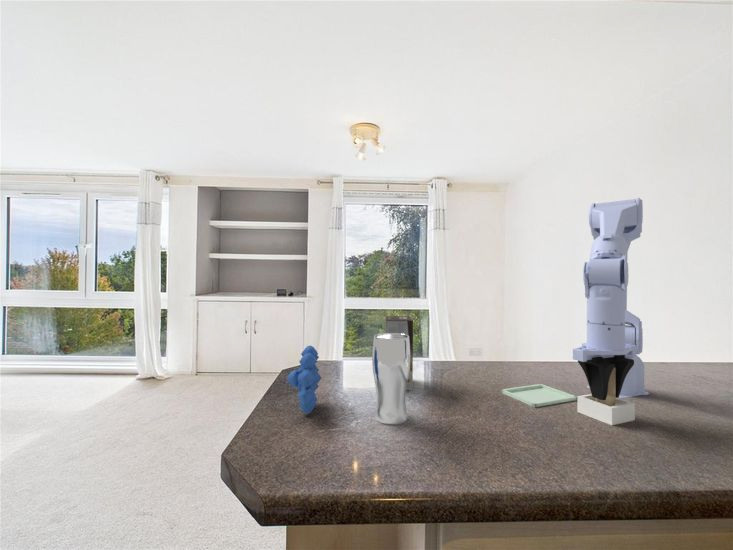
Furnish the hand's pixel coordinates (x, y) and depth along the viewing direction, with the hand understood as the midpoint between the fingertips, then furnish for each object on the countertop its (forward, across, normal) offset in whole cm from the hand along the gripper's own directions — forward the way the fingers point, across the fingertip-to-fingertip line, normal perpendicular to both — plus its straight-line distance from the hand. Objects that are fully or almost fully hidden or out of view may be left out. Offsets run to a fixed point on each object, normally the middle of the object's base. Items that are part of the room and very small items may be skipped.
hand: (605, 397), depth 61 cm
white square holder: (+4, 0, 0) cm, 4 cm away
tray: (+4, +3, -12) cm, 13 cm away
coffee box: (+4, +27, -31) cm, 41 cm away
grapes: (+4, +51, -24) cm, 56 cm away
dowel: (+3, 0, 0) cm, 3 cm away
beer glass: (+4, +37, -14) cm, 40 cm away
